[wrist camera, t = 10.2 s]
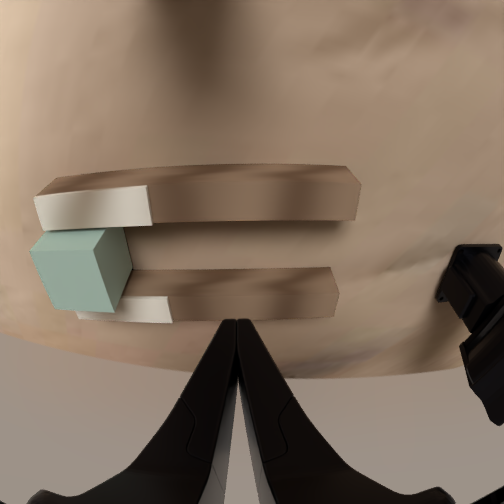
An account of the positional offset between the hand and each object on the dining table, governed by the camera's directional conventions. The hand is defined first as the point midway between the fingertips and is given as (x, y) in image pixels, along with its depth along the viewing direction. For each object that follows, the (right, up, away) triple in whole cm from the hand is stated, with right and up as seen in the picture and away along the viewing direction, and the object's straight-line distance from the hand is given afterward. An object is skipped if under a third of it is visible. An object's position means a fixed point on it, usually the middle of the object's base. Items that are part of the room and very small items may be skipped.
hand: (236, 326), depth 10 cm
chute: (-3, +3, +12) cm, 13 cm away
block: (-11, +3, +12) cm, 17 cm away
